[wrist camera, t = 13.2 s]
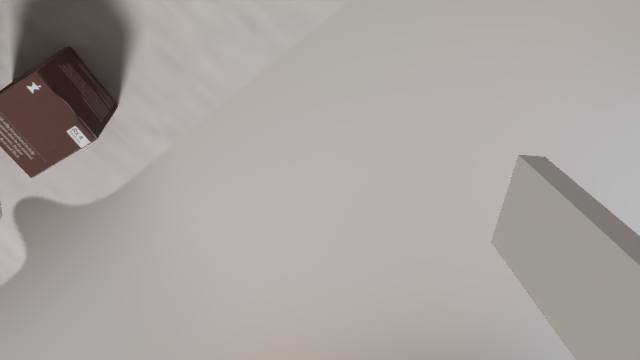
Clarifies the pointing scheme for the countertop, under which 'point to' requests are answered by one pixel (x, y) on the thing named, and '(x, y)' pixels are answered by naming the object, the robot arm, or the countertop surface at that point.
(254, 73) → the countertop surface
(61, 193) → the countertop surface
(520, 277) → the robot arm
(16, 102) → the box
